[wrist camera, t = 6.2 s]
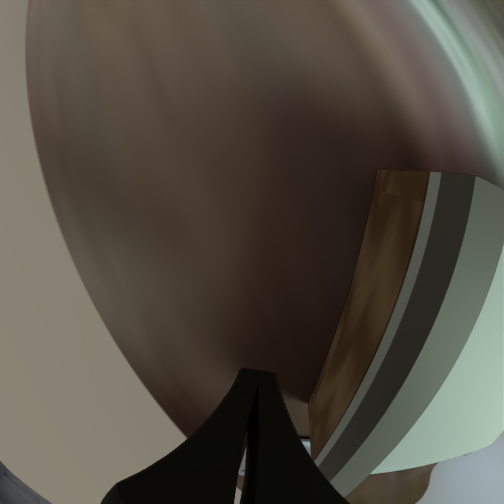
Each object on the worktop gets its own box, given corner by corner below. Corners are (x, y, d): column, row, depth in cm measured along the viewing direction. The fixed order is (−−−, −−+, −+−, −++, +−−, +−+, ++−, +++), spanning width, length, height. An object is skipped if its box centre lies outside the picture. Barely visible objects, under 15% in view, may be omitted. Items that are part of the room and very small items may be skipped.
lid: (487, 439, 12) (497, 458, 10) (310, 467, 13) (310, 500, 11) (584, 254, 7) (606, 266, 4) (430, 171, 8) (475, 175, 5)
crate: (465, 399, 18) (486, 437, 13) (307, 404, 19) (311, 463, 14) (538, 233, 13) (582, 253, 7) (377, 169, 14) (427, 171, 8)
